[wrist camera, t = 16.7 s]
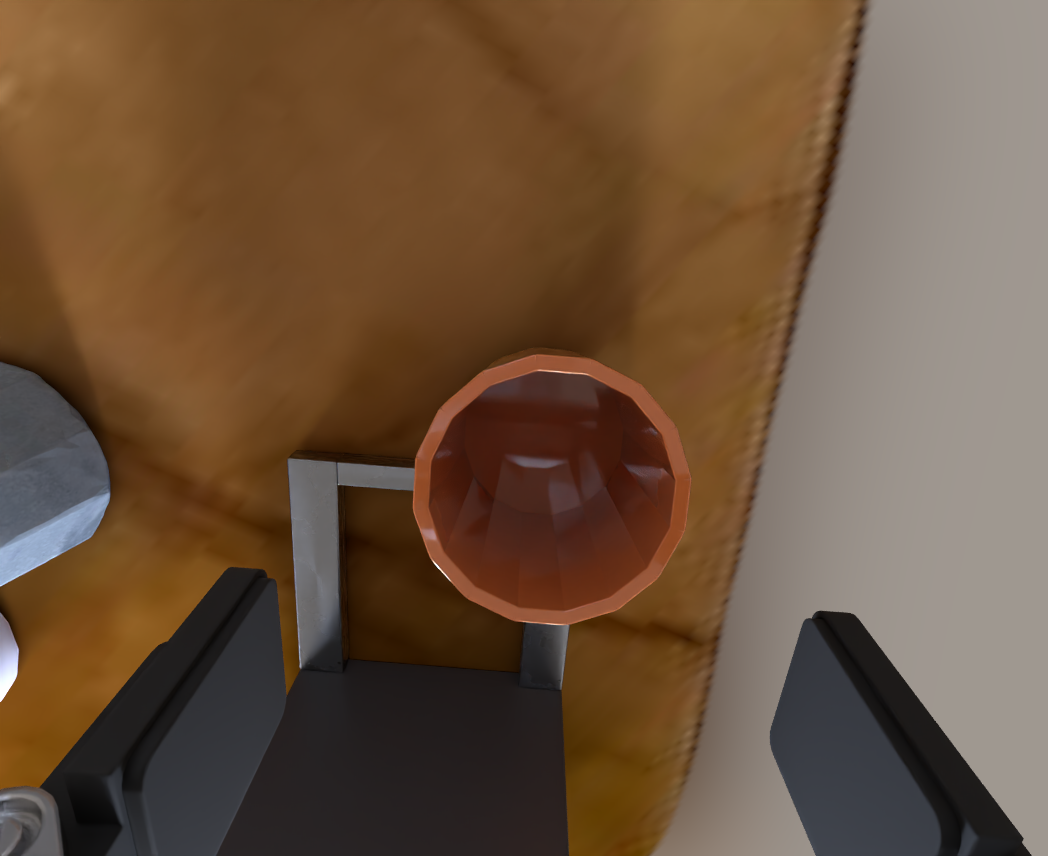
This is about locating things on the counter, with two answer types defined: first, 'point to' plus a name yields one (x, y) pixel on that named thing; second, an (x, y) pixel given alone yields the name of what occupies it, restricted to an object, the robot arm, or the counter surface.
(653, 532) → the cup
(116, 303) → the counter surface
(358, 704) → the grey box with dial
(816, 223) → the counter surface
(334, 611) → the cup bay
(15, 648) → the soap bottle
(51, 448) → the moka pot
